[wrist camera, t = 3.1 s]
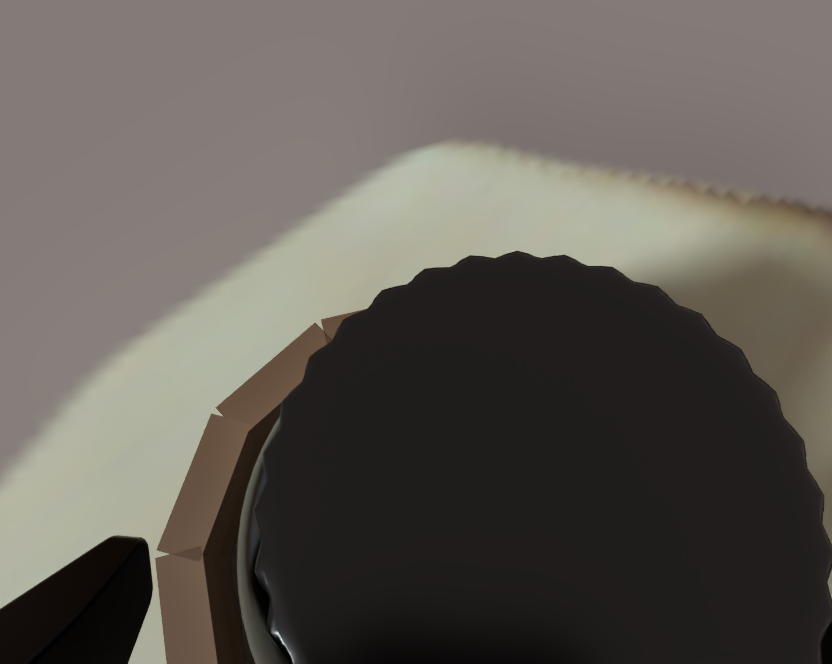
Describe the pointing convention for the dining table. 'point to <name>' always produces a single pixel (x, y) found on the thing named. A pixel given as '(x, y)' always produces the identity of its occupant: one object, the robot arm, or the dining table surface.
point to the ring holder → (222, 510)
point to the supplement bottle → (532, 485)
